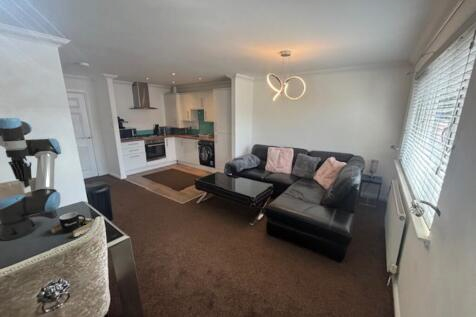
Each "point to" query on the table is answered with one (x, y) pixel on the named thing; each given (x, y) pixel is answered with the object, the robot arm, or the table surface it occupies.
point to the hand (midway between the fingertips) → (27, 192)
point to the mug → (70, 222)
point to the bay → (78, 231)
